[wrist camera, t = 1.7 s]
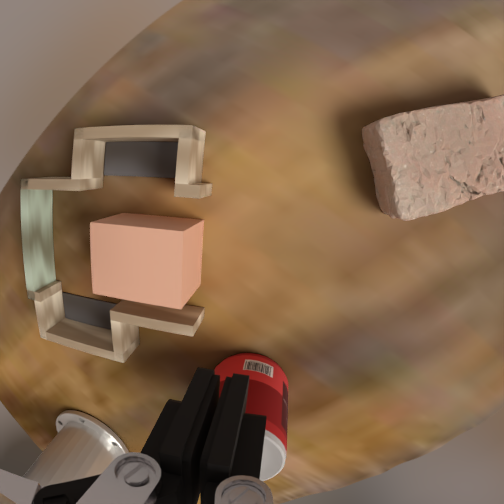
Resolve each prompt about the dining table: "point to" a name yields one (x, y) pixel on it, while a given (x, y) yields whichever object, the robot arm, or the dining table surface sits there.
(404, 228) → the dining table surface
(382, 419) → the dining table surface
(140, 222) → the block
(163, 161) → the channel
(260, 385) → the canned food
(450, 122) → the brick
